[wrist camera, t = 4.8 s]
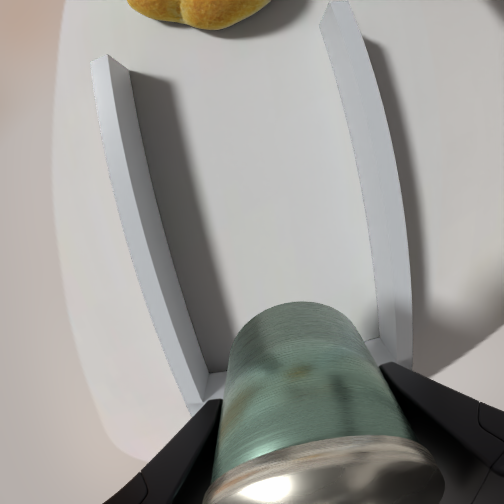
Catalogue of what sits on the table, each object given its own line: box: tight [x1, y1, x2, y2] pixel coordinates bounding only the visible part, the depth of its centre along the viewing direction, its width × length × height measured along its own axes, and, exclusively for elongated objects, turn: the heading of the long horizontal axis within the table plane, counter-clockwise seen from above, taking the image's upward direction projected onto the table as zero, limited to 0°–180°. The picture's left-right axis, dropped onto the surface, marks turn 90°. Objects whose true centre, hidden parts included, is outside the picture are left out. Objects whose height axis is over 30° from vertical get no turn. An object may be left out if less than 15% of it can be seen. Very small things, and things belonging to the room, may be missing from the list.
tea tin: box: [202, 302, 445, 504], centre depth 7 cm, size 5×5×6 cm
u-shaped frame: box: [90, 1, 413, 417], centre depth 16 cm, size 13×20×3 cm, turn 13°
